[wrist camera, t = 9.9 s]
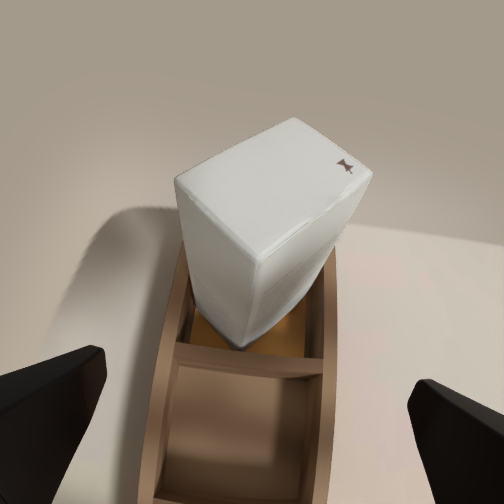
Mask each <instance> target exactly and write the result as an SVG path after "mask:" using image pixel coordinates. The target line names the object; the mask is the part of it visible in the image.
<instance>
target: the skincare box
mask: <svg viewBox="0 0 504 504" xmlns="http://www.w3.org/2000/svg"><path fill="white" fill-rule="evenodd" d="M372 175H373V173H372V171H370V169H368V168H367V167H366V166H364V165H363V164H362V163H360V162H359V161H358V160H356V159H355V158H354V157H352V156H351V155H350V154H348V153H347V152H345V151H344V150H343V149H341V148H340V147H339V146H337V145H336V144H335V143H333V142H332V141H330V140H329V139H327V138H326V137H325V136H323V135H322V134H320V133H319V132H317V131H316V130H314V129H313V128H311V127H310V126H308V125H307V124H305V123H303V122H302V121H300V120H298V119H297V118H294V117H292V118H289V119H287V120H285V121H283V122H281V123H279V124H277V125H274V126H272V127H270V128H268V129H266V130H264V131H262V132H260V133H258V134H256V135H254V136H252V137H249V138H248V139H246V140H243V141H242V142H240V143H238V144H236V145H234V146H232V147H230V148H228V149H226V150H224V151H222V152H220V153H218V154H217V155H215V156H213V157H211V158H209V159H207V160H205V161H203V162H202V163H200V164H198V165H196V166H194V167H193V168H191V169H189V170H187V171H185V172H183V173H182V174H180V175H178V176H176V177H175V179H174V185H175V192H176V199H177V205H178V211H179V218H180V224H181V229H182V235H183V241H184V246H185V251H186V257H187V262H188V268H189V273H190V278H191V283H192V288H193V293H194V298H195V303H196V308H197V310H198V312H199V313H200V314H201V315H202V316H203V317H204V318H205V319H206V321H207V322H208V323H209V324H210V325H211V326H212V328H213V329H214V330H215V331H216V332H217V333H218V334H219V336H220V337H221V338H222V339H223V340H224V341H225V342H226V343H227V344H228V346H229V347H230V348H231V349H232V350H233V351H241V352H244V351H246V350H247V349H248V348H249V347H250V346H251V345H253V344H254V343H255V342H256V341H257V340H258V339H259V338H260V337H262V336H263V335H264V334H265V333H266V332H267V331H268V330H270V329H271V328H272V327H273V326H274V325H275V324H276V323H277V322H279V321H280V320H281V319H282V318H283V317H284V316H285V315H286V314H287V313H288V312H289V311H291V310H292V309H293V308H294V307H295V306H296V305H297V304H298V303H299V302H300V301H301V300H302V299H303V298H304V297H305V295H306V293H307V292H308V290H309V288H310V287H311V285H312V284H313V282H314V280H315V279H316V277H317V275H318V274H319V272H320V270H321V268H322V267H323V265H324V263H325V261H326V260H327V258H328V256H329V255H330V253H331V251H332V249H333V248H334V246H335V244H336V243H337V241H338V239H339V237H340V236H341V234H342V232H343V230H344V228H345V227H346V225H347V223H348V221H349V219H350V217H351V216H352V214H353V212H354V211H355V209H356V207H357V206H358V204H359V202H360V200H361V198H362V196H363V194H364V192H365V190H366V188H367V186H368V184H369V182H370V180H371V178H372Z"/></svg>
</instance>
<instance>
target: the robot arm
mask: <svg viewBox="0 0 504 504" xmlns="http://www.w3.org/2000/svg"><path fill="white" fill-rule="evenodd" d="M106 378H107V368H106V359H105V352H104V349H103V348H101V347H97V346H93V345H88V346H85V347H83V348H80V349H77V350H74V351H71V352H69V353H66V354H63V355H60V356H57V357H54V358H51V359H49V360H46V361H43V362H40V363H37V364H34V365H31V366H28V367H25V368H22V369H19V370H16V371H13V372H11V373H8V374H4V375H1V376H0V504H52V501H53V499H54V497H55V495H56V492H57V490H58V488H59V486H60V484H61V481H62V479H63V477H64V475H65V473H66V471H67V469H68V466H69V464H70V462H71V460H72V458H73V456H74V454H75V452H76V450H77V448H78V446H79V444H80V442H81V440H82V438H83V436H84V434H85V432H86V430H87V428H88V426H89V424H90V421H91V419H92V416H93V414H94V411H95V408H96V405H97V403H98V400H99V397H100V395H101V392H102V389H103V387H104V384H105V382H106ZM407 408H408V412H409V416H410V420H411V424H412V428H413V432H414V436H415V441H416V444H417V448H418V451H419V454H420V457H421V460H422V463H423V466H424V469H425V472H426V475H427V478H428V481H429V484H430V487H431V491H432V494H433V497H434V500H435V504H504V415H502V414H500V413H498V412H496V411H494V410H492V409H490V408H488V407H486V406H484V405H482V404H480V403H478V402H476V401H474V400H472V399H470V398H467V397H465V396H463V395H461V394H459V393H457V392H455V391H453V390H451V389H449V388H447V387H445V386H444V385H442V384H440V383H438V382H436V381H434V380H432V379H421V380H419V381H418V382H417V383H416V385H415V387H414V389H413V391H412V393H411V396H410V398H409V400H408V403H407Z"/></svg>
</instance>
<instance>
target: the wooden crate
mask: <svg viewBox="0 0 504 504" xmlns="http://www.w3.org/2000/svg"><path fill="white" fill-rule="evenodd" d="M336 382H337V280H336V256H335V246H334V248H333V249H332V251H331V253H330V255H329V256H328V258H327V260H326V261H325V263H324V265H323V267H322V268H321V270H320V272H319V274H318V275H317V277H316V279H315V280H314V282H313V284H312V285H311V287H310V288H309V290H308V292H307V293H306V295H305V297H304V298H303V299H302V300H301V301H300V302H299V303H298V304H297V305H296V306H295V307H294V308H293V309H292V310H291V311H289V312H288V313H287V314H286V315H285V316H284V317H283V318H282V319H281V320H280V321H279V322H277V323H276V324H275V325H274V326H273V327H272V328H271V329H270V330H268V331H267V332H266V333H265V334H264V335H263V336H262V337H260V338H259V339H258V340H257V341H256V342H255V343H254V344H253V345H251V346H250V347H249V348H248V349H247V350H246V351H244V352H241V351H233V350H232V349H231V348H230V347H229V346H228V344H227V343H226V342H225V341H224V340H223V339H222V338H221V337H220V336H219V334H218V333H217V332H216V331H215V330H214V329H213V328H212V326H211V325H210V324H209V323H208V322H207V321H206V319H205V318H204V317H203V316H202V315H201V314H200V313H199V312H198V310H197V308H196V303H195V298H194V293H193V288H192V283H191V278H190V273H189V268H188V262H187V257H186V251H185V246H184V241H183V243H182V247H181V251H180V255H179V259H178V263H177V267H176V271H175V276H174V280H173V284H172V289H171V293H170V298H169V302H168V307H167V311H166V316H165V321H164V325H163V330H162V335H161V340H160V345H159V351H158V356H157V361H156V367H155V372H154V378H153V384H152V390H151V396H150V402H149V408H148V415H147V422H146V429H145V436H144V443H143V451H142V460H141V468H140V477H139V487H138V498H137V504H327V497H328V489H329V481H330V471H331V461H332V450H333V438H334V423H335V406H336Z"/></svg>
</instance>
